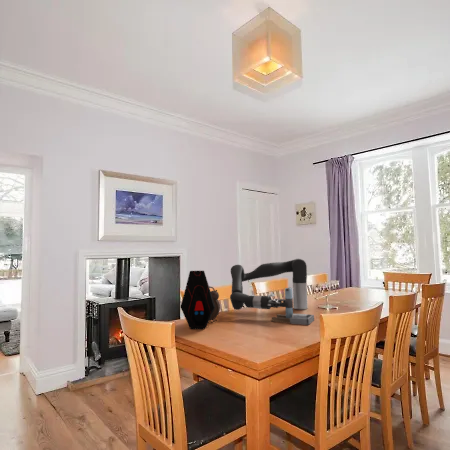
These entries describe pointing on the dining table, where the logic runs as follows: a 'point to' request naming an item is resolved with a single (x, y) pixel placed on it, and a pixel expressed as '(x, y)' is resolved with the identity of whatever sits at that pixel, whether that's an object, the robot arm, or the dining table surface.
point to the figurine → (197, 301)
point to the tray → (302, 320)
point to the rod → (289, 302)
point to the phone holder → (270, 294)
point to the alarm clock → (217, 304)
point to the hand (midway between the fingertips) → (289, 303)
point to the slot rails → (281, 319)
